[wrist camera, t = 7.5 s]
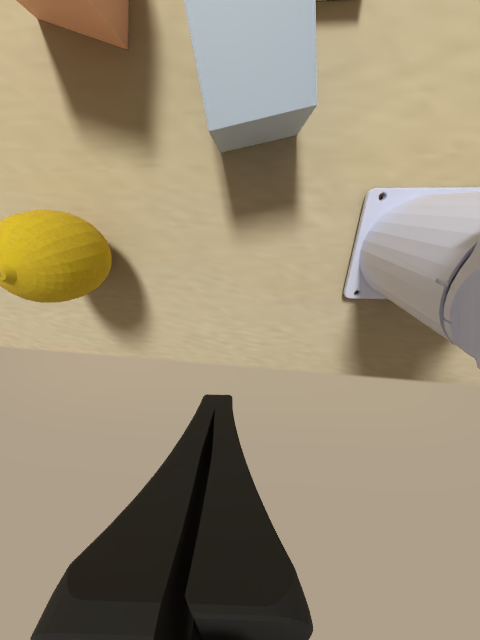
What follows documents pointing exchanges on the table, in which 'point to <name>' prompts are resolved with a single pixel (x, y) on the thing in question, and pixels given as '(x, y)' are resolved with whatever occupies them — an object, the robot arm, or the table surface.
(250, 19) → the slate block
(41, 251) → the lemon
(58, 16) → the terracotta block
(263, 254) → the table surface
